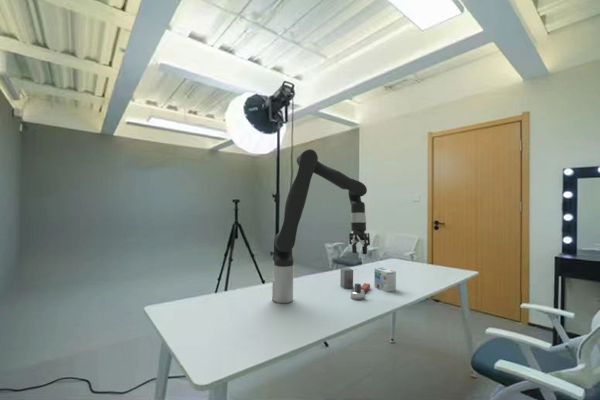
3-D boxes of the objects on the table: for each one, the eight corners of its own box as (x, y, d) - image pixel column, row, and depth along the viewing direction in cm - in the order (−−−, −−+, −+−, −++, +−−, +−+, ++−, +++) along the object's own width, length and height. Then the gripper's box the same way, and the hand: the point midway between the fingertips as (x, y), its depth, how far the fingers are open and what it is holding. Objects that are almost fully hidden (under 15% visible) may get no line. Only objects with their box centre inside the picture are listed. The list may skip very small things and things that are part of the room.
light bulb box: (373, 286, 163) (374, 268, 163) (383, 285, 166) (383, 267, 166) (386, 292, 153) (387, 272, 153) (396, 290, 156) (396, 271, 156)
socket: (344, 288, 159) (344, 270, 159) (340, 285, 164) (340, 268, 164) (353, 287, 160) (353, 270, 161) (349, 285, 166) (349, 267, 166)
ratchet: (362, 301, 138) (362, 286, 138) (348, 298, 142) (349, 284, 142) (373, 288, 159) (373, 276, 159) (361, 287, 162) (361, 274, 162)
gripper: (344, 222, 152) (345, 253, 150) (361, 221, 139) (362, 254, 137) (356, 222, 155) (357, 252, 153) (373, 221, 142) (374, 254, 140)
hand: (359, 253), depth 145 cm, fingers open, 8 cm apart
